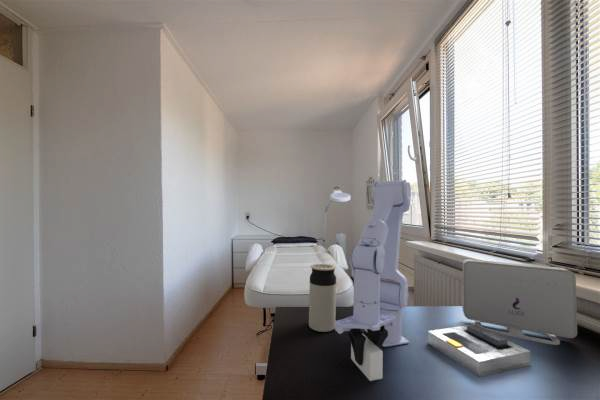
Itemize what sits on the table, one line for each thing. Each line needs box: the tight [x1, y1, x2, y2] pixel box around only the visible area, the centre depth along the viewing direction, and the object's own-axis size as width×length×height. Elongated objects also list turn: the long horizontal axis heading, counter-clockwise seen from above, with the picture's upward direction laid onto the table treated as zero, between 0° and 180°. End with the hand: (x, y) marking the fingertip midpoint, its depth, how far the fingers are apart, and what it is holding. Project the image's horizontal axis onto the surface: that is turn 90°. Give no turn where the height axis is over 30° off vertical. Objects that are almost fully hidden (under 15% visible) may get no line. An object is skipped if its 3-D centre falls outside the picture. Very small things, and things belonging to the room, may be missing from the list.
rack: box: [427, 324, 532, 378], centre depth 62 cm, size 14×16×5 cm
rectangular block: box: [350, 332, 384, 382], centre depth 55 cm, size 8×3×6 cm, turn 17°
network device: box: [461, 258, 578, 346], centre depth 75 cm, size 26×9×20 cm, turn 62°
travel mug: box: [308, 263, 337, 333], centre depth 75 cm, size 8×8×18 cm
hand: (365, 361), depth 55 cm, fingers closed on rectangular block, 3 cm apart
